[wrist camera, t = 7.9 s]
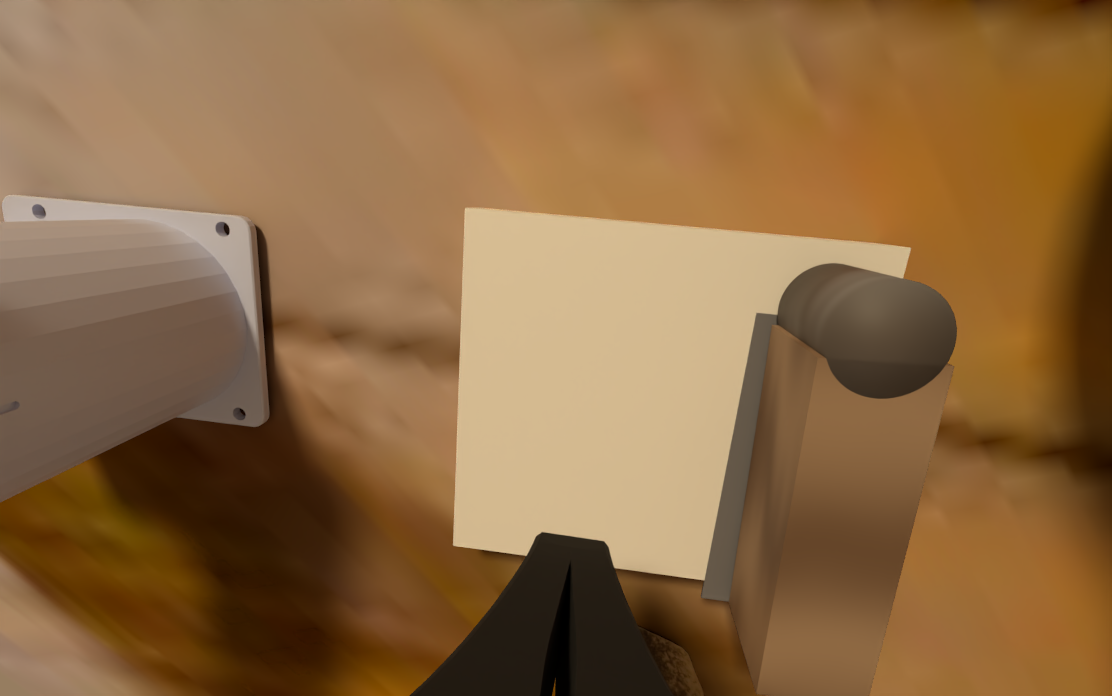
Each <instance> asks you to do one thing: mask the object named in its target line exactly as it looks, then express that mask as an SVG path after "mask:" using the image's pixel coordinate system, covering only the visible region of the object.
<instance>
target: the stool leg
mask: <svg viewBox="0 0 1112 696" xmlns="http://www.w3.org/2000/svg"><path fill="white" fill-rule="evenodd" d="M777 315H778V324H779V325H772V328H771V334H770V341H769V347H768V354H767V360H766V367H765V373H764V379H763V386H762V392H761V399H760V405H759V412H758V418H757V425H756V431H755V437H754V444H753V450H752V457H751V463H750V470H749V476H748V482H747V489H746V495H745V502H744V508H743V515H742V521H741V528H740V534H739V540H738V547H737V553H736V560H735V566H734V573H733V579H732V586H731V592H730V598H729V606H730V609H731V612H732V616H733V619H734V622H735V625H736V629H737V632H738V635H739V639H740V642H741V645H742V649H743V652H744V655H745V658H746V662H747V665H748V668H749V672H750V675H751V678H752V682H753V685H754V688H755V692H756V694H760V695H769V696H869V695H870V691H871V687H872V683H873V679H874V675H875V671H876V668H877V664H878V660H879V656H880V652H881V648H882V644H883V640H884V637H885V633H886V629H887V625H888V621H889V617H890V613H891V610H892V606H893V602H894V598H895V594H896V590H897V586H898V582H899V579H900V575H901V571H902V567H903V563H904V559H905V555H906V551H907V548H908V544H909V540H910V536H911V532H912V528H913V524H914V520H915V517H916V513H917V509H918V505H919V501H920V497H921V493H922V489H923V486H924V482H925V478H926V474H927V470H928V466H929V462H930V458H931V455H932V451H933V447H934V443H935V439H936V435H937V431H938V427H939V424H940V420H941V416H942V412H943V408H944V404H945V400H946V396H947V393H948V389H949V385H950V381H951V377H952V373H953V369H954V366H952V365H950V364H948V363H947V362H948V361H949V359H950V357H951V355H952V353H953V350H954V347H955V342H956V336H957V327H956V320H955V317H954V313H953V311H952V309H951V307H950V305H949V304H948V302H947V301H946V300H945V299H944V298H943V296H942V295H941V294H939V293H938V292H937V291H936V290H934V289H932V288H931V287H929V286H927V285H924V284H922V283H919V282H915V281H911V280H907V279H903V278H898V277H894V276H890V275H886V274H882V273H878V272H874V271H870V270H866V269H861V268H857V267H853V266H849V265H845V264H839V263H828V264H822V265H818V266H815V267H812V268H810V269H808V270H806V271H804V272H803V273H801V274H800V275H798V276H797V277H796V278H795V279H794V280H793V281H792V282H791V283H790V284H789V285H788V287H787V288H786V289H785V291H784V293H783V295H782V297H781V299H780V302H779V306H778V314H777Z"/></svg>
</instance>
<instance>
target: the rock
mask: <svg viewBox="0 0 1112 696" xmlns="http://www.w3.org/2000/svg"><path fill="white" fill-rule="evenodd" d="M638 628H639V630H640V632H641V634H642V636H643V638H644V640H645V642H646V645H647V647H648V649H649V651H650V652H651V654H652V656H653V658H654V660H655V662H656V664H657V666H658V668H659V670H660V672H661V673H662V675H663V677H664V679H665V681H666V682H667V684H668V686H669V688H670V690H671V691H672V693H673V695H674V696H704V693H703V690H702V687H701V685H700V682H699V680H698V678H697V675H696V673H695V670H694V668H693V665H692V663H691V660H690V657H689V655H688V653H687V652H686V651H685V650H684V649H683V648H682V647H681V646H678V645H676V644H674V643H673V642H671V641H669V640H667V639H664V638H662V637H661V636H659V635H656V634H653V633H651V632H649V631H647V630H645V629H643V628H641V627H639V626H638Z"/></svg>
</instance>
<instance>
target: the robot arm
mask: <svg viewBox="0 0 1112 696" xmlns="http://www.w3.org/2000/svg"><path fill="white" fill-rule="evenodd" d="M44 209H45V212H46V215H45V213H44ZM2 210H3V215H4V220H5V222H0V502H2V501H4V500H6V499H8V498H10V497H12V496H14V495H16V494H18V493H21V492H23V491H25V490H27V489H29V488H31V487H33V486H35V485H37V484H39V483H41V482H43V481H45V480H47V479H49V478H51V477H53V476H56V475H58V474H60V473H62V472H64V471H66V470H68V469H70V468H72V467H74V466H76V465H78V464H80V463H82V462H84V461H86V460H89V459H91V458H93V457H95V456H97V455H99V454H101V453H103V452H105V451H107V450H109V449H111V448H113V447H115V446H117V445H119V444H121V443H124V442H126V441H128V440H130V439H132V438H134V437H136V436H138V435H140V434H142V433H144V432H146V431H148V430H150V429H152V428H154V427H156V426H159V425H161V424H163V423H165V422H167V421H169V420H171V419H173V418H175V417H178V418H186V419H194V420H202V421H210V422H218V423H226V424H234V425H242V426H250V427H258V426H260V425H262V424H263V423H265V422H267V420H268V419H269V400H268V386H267V372H266V358H265V345H264V331H263V317H262V303H261V289H260V275H259V261H258V248H257V234H256V228H255V225H254V224H253V222H252V221H251V220H250V219H249V218H247V217H244V216H239V215H228V214H217V213H207V212H196V211H186V210H175V209H164V208H154V207H143V206H132V205H122V204H111V203H100V202H90V201H79V200H68V199H58V198H47V197H37V196H26V195H8V196H6V197H5V198H4V200H3V202H2ZM225 223H226V224H227V225H228V226H229V229H230V233H229V235H227V234H226V233H225V231H224V224H225ZM240 408H241V409H243V410H244V411H245V414H246V416H244V415H243V414H242V413H241V412H240ZM555 677H556V686H555V696H674V695H673V693H672V691H671V690H670V688H669V686H668V684H667V682H666V681H665V679H664V677H663V675H662V673H661V672H660V670H659V668H658V666H657V664H656V662H655V660H654V658H653V656H652V654H651V652H650V651H649V649H648V647H647V645H646V642H645V640H644V638H643V636H642V634H641V632H640V630H639V628H638V625H637V623H636V621H635V619H634V617H633V614H632V612H631V610H630V608H629V605H628V603H627V601H626V598H625V596H624V593H623V591H622V588H621V585H620V583H619V580H618V577H617V574H616V571H615V569H614V565H613V562H612V559H611V555H610V551H609V547H608V546H607V544H606V543H605V542H604V541H600V540H593V539H586V538H580V537H573V536H566V535H559V534H553V533H546V532H541V533H540V534H538V535H537V536H536V537H535V540H534V542H533V544H532V546H531V548H530V550H529V552H528V554H527V556H526V557H525V559H524V561H523V562H522V564H521V566H520V567H519V569H518V570H517V572H516V573H515V575H514V576H513V578H512V579H511V581H510V582H509V583H508V585H507V586H506V588H505V589H504V590H503V592H502V593H501V595H500V596H499V598H498V599H497V600H496V602H495V603H494V604H493V606H492V607H491V608H490V609H489V611H488V612H487V613H486V614H485V616H484V617H483V618H482V619H481V620H480V622H479V623H478V624H477V625H476V626H475V628H474V629H473V630H472V631H471V633H470V634H469V635H468V636H467V637H466V638H465V640H464V641H463V642H462V643H461V644H460V645H459V646H458V647H457V649H456V650H455V651H454V652H453V653H452V654H451V655H450V656H449V657H448V658H447V659H446V660H445V661H444V663H443V664H442V665H441V666H440V667H439V668H438V669H437V670H436V671H435V672H434V673H433V674H432V675H431V676H430V677H429V678H428V679H427V680H426V681H425V682H424V683H423V684H422V685H421V686H419V687H418V688H417V689H416V690H415V691H414V692H413V693H412V694H411V695H410V696H552V692H553V687H554V682H555Z"/></svg>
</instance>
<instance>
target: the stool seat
mask: <svg viewBox="0 0 1112 696" xmlns="http://www.w3.org/2000/svg"><path fill="white" fill-rule="evenodd" d="M910 250H911V248H909V247H901V246H894V245H886V244H879V243H869V242H858V241H847V240H836V239H825V238H813V237H802V236H791V235H780V234H769V233H758V232H746V231H735V230H724V229H713V228H702V227H691V226H679V225H668V224H657V223H646V222H635V221H624V220H612V219H601V218H590V217H579V216H568V215H557V214H545V213H534V212H523V211H512V210H501V209H490V208H465V224H464V253H463V281H462V309H461V338H460V366H459V395H458V423H457V451H456V480H455V508H454V537H453V546H459V547H467V548H474V549H481V550H488V551H495V552H503V553H510V554H517V555H524V556H527V554H528V552H529V550H530V548H531V546H532V544H533V542H534V540H535V537H536V536H537V535H538V534H540V533H541V532H546V533H553V534H559V535H566V536H573V537H580V538H586V539H593V540H600V541H604V542H605V543H606V544H607V546H608V547H609V551H610V555H611V559H612V562H613V565H614V568H618V569H625V570H633V571H640V572H647V573H654V574H662V575H669V576H676V577H683V578H690V579H698V580H704V583H703V588H702V593H701V598H706V599H713V600H721V601H728V602H729V598H730V592H731V586H732V579H733V573H734V566H735V560H736V553H737V547H738V540H739V534H740V528H741V521H742V515H743V508H744V502H745V495H746V489H747V482H748V476H749V470H750V463H751V457H752V450H753V444H754V437H755V431H756V425H757V418H758V412H759V405H760V399H761V392H762V386H763V379H764V373H765V367H766V360H767V354H768V347H769V341H770V334H771V328H772V325H779V324H778V315H777V314H778V306H779V302H780V299H781V297H782V295H783V293H784V291H785V289H786V288H787V287H788V285H789V284H790V283H791V282H792V281H793V280H794V279H795V278H796V277H797V276H798V275H800V274H801V273H803V272H804V271H806V270H808V269H810V268H812V267H815V266H818V265H822V264H828V263H839V264H845V265H849V266H853V267H857V268H861V269H866V270H870V271H874V272H878V273H882V274H886V275H890V276H894V277H898V278H903V276H904V272H905V269H906V265H907V261H908V257H909V254H910Z"/></svg>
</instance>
